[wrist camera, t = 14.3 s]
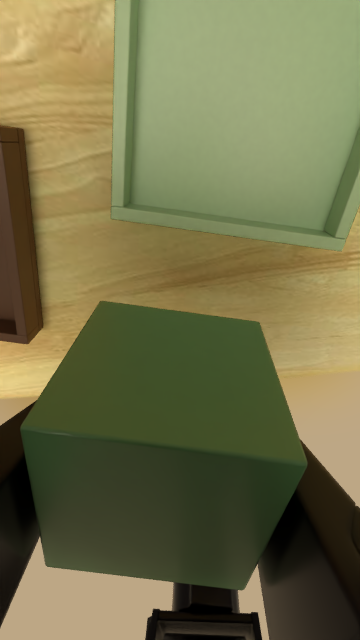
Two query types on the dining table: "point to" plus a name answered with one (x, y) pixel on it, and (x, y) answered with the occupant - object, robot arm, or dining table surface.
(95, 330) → the green block
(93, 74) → the dining table surface
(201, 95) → the green tray
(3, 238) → the walnut tray
